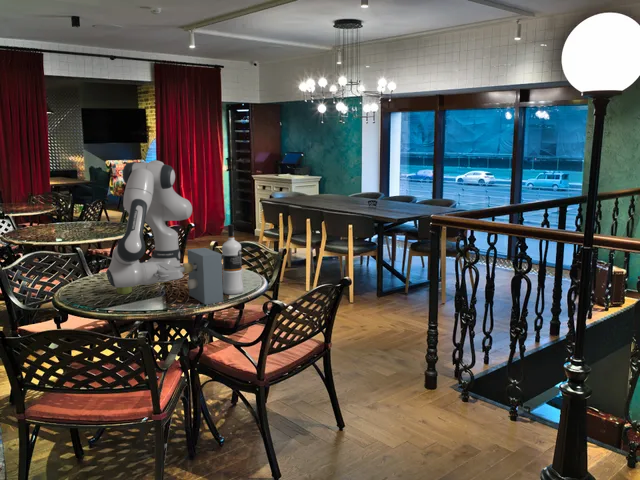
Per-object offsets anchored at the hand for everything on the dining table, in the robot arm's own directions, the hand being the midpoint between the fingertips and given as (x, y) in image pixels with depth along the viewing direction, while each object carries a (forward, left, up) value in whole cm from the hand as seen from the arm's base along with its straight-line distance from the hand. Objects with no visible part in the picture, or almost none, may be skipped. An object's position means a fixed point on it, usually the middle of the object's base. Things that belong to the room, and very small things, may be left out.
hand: (183, 268), depth 240 cm
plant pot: (-30, +16, -14) cm, 37 cm away
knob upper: (+6, +3, -2) cm, 7 cm away
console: (+8, +4, -14) cm, 16 cm away
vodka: (+18, +13, -14) cm, 27 cm away
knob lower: (+8, +4, -9) cm, 12 cm away
